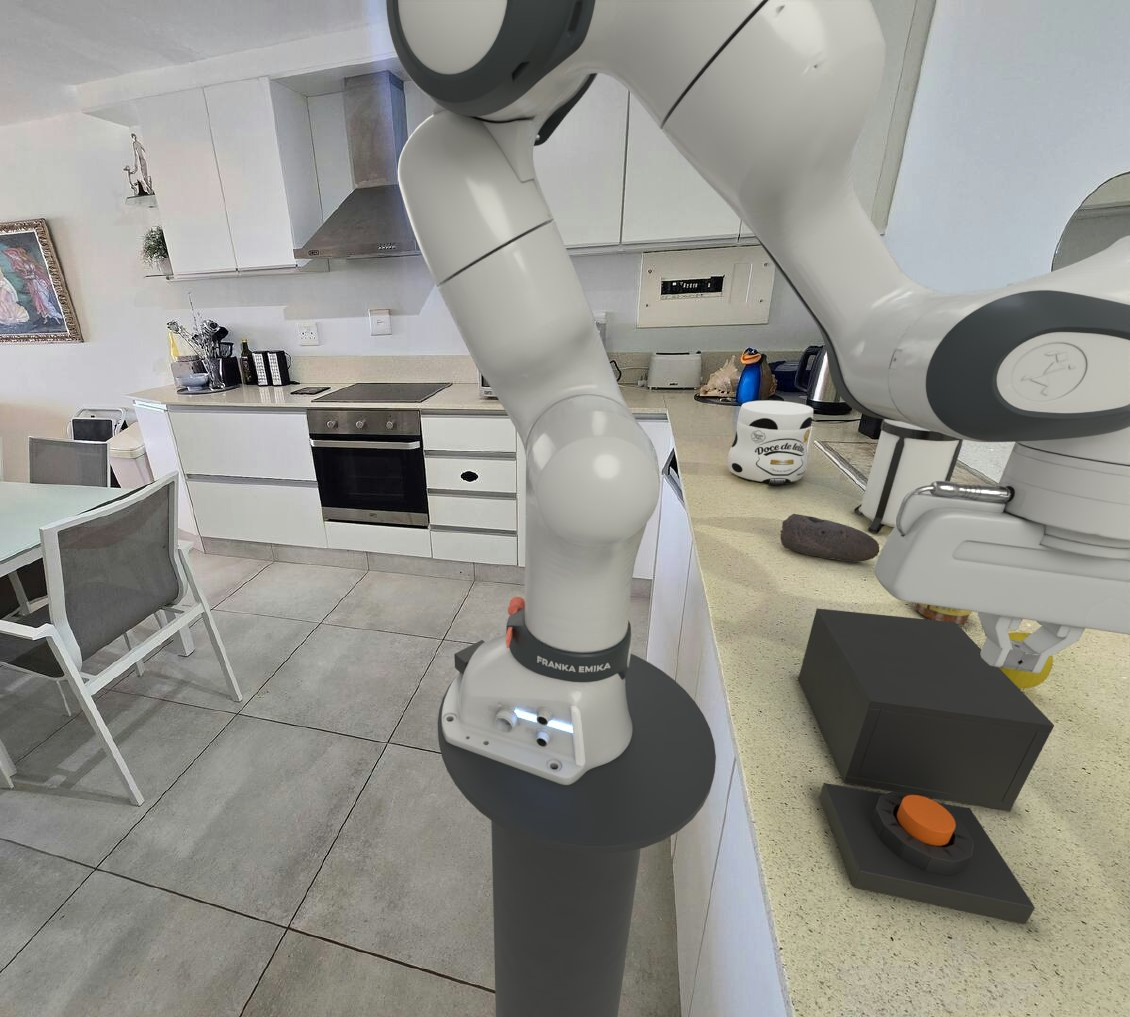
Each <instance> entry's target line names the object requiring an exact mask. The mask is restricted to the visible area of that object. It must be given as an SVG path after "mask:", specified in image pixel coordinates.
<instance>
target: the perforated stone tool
mask: <svg viewBox="0 0 1130 1017" xmlns="http://www.w3.org/2000/svg"><path fill="white" fill-rule="evenodd" d="M781 523H782V526H781V530H780V531H779V532H780V542H781V545H782V546H783V547H784V548H785V549H789V550H791V551H794V552H797V553H799V554H800V553H801V554H804V555H807V556H815V557H818V558H819V557H820V558H824V559H831V560H837V561H844V562H867V561H870V560H873V559H874V558H876V557H877V556H879V554H880V544H879V542H878V540H876V539H875V538H874V537H872V536H871V535H869V534H868V533H867V532H864V531H862V530H860V529H857V528H855V527H853V526H850V525H846V524H843V523H840V522H836V521H832V520H830V519H823V518H819V517H816V516H812V515H811V516H810V515H804V514H798V513H792V514H791V515H788V517H787V518H786V519H785V520H783V521H782V522H781Z"/></svg>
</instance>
